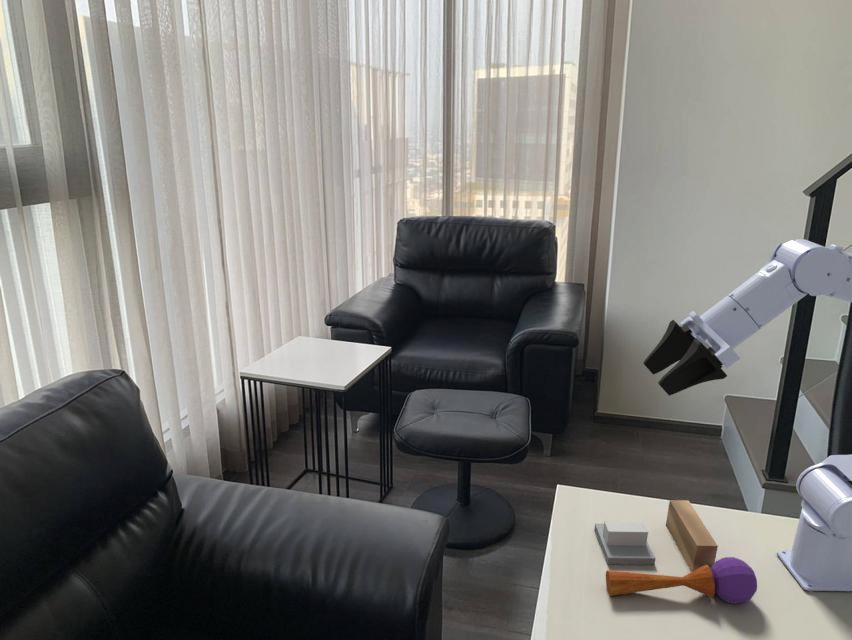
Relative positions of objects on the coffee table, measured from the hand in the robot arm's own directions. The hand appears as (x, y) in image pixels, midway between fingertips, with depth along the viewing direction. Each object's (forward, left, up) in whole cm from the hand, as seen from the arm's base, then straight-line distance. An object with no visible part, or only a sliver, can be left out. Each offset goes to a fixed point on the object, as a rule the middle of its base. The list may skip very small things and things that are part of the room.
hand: (655, 378), depth 84 cm
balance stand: (-1, -5, -31) cm, 31 cm away
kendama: (-6, +5, -31) cm, 32 cm away
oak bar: (-11, -5, -31) cm, 33 cm away
